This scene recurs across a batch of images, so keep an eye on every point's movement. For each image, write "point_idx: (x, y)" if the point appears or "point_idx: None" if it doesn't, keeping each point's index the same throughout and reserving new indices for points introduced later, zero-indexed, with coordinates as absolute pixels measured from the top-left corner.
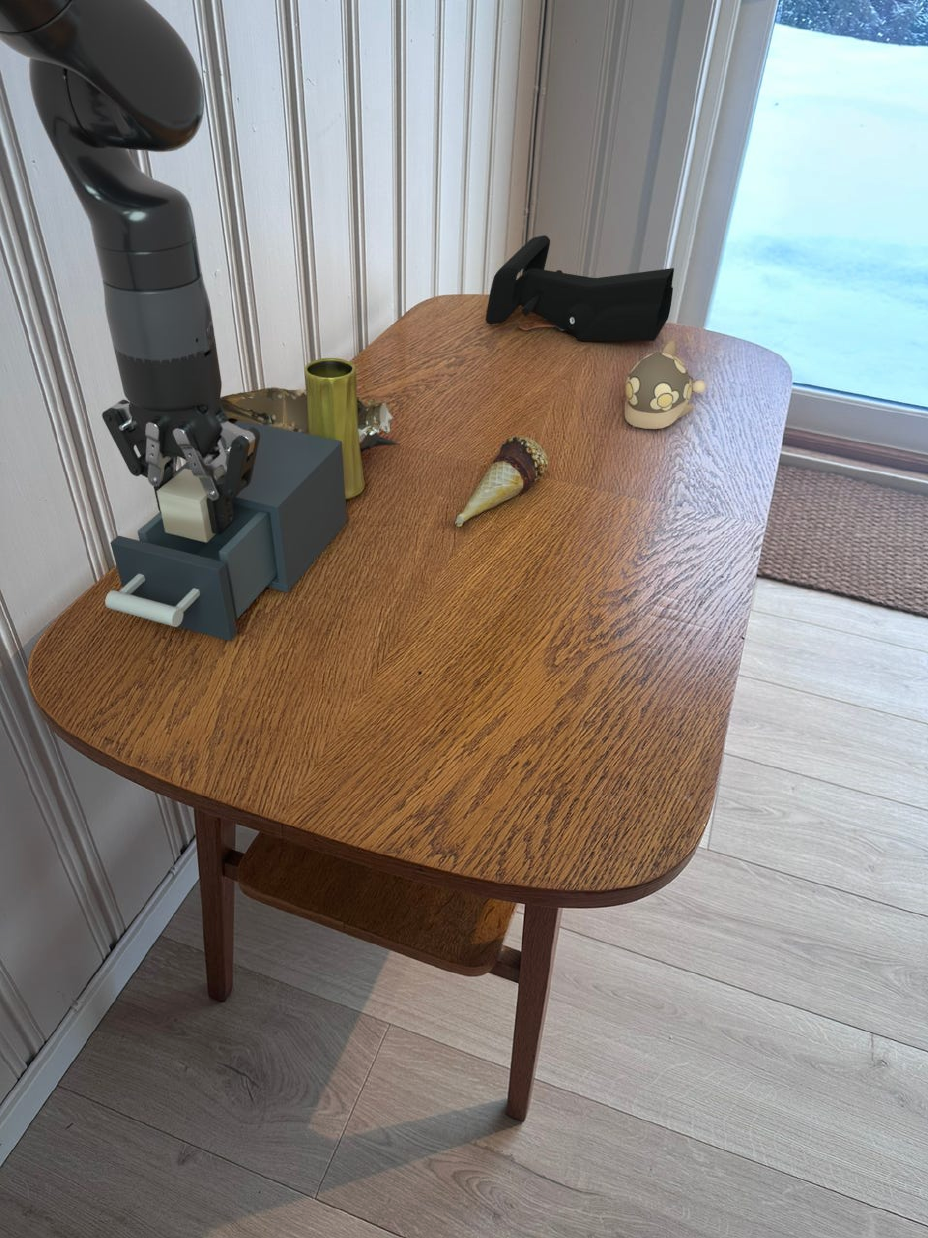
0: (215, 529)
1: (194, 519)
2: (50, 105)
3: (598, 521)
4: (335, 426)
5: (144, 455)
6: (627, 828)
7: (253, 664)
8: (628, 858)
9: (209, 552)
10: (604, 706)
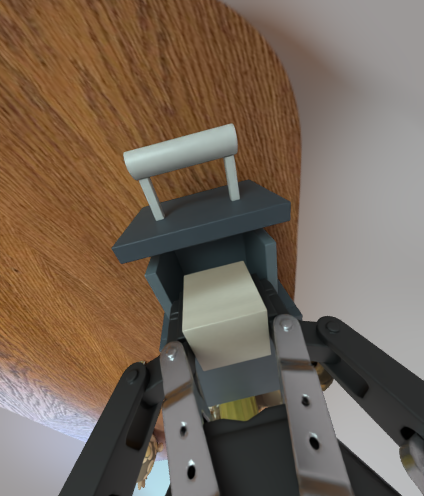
0: (181, 296)
1: (196, 296)
2: None
3: (91, 393)
4: (226, 407)
5: (336, 359)
6: None
7: (114, 202)
8: None
9: None
10: None
